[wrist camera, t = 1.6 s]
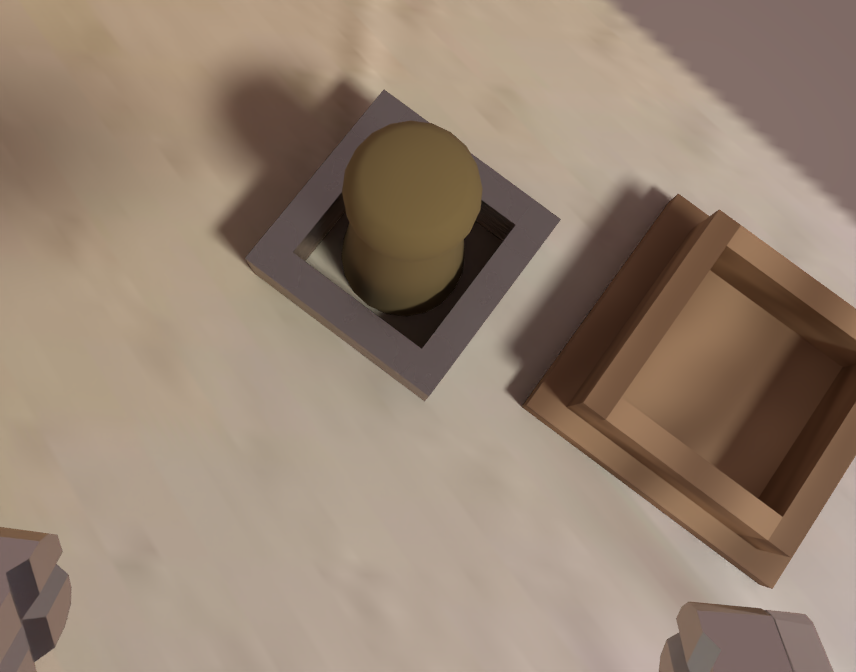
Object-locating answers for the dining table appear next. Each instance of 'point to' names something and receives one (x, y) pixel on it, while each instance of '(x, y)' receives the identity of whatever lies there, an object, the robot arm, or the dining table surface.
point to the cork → (408, 216)
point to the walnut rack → (713, 387)
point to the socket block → (353, 322)
